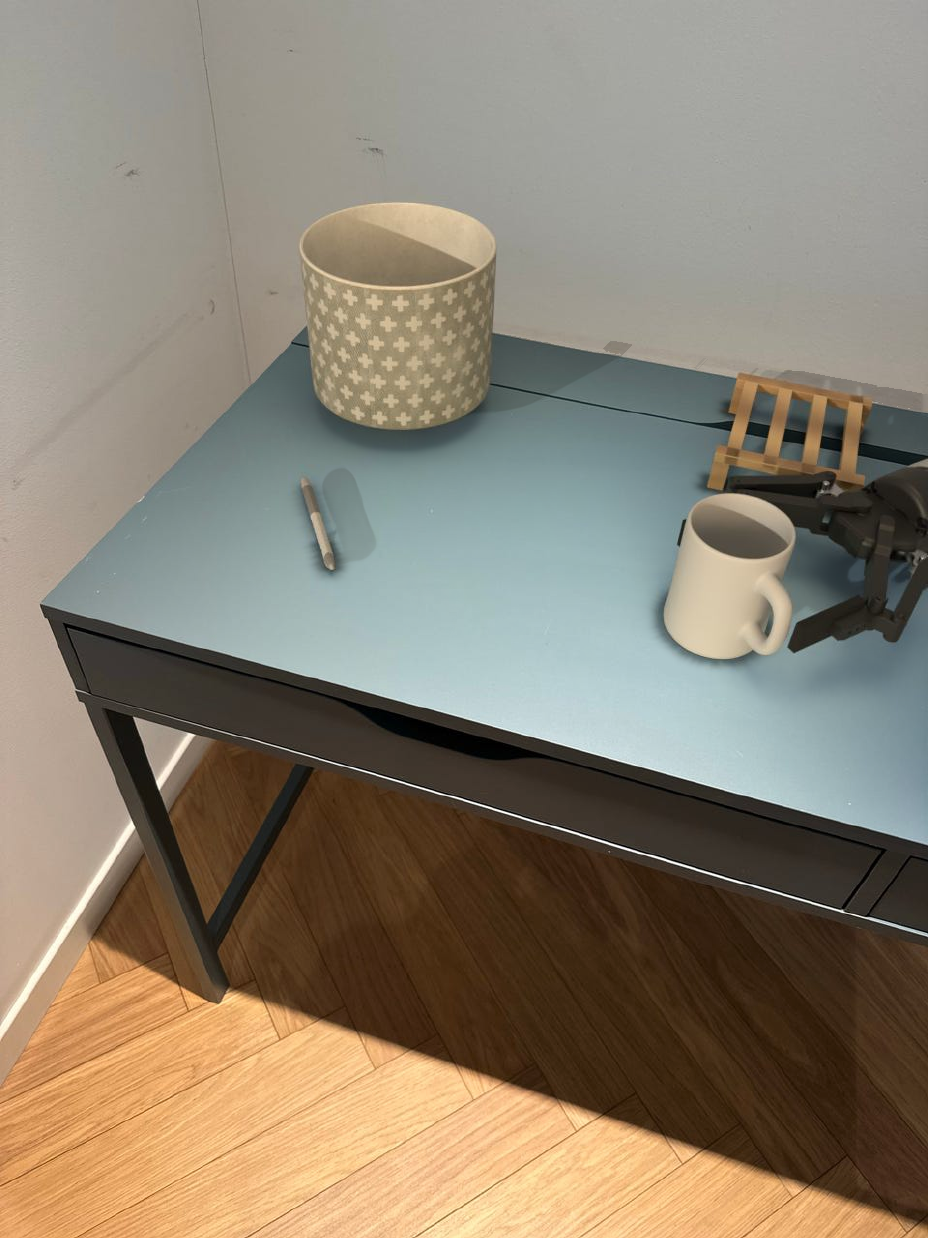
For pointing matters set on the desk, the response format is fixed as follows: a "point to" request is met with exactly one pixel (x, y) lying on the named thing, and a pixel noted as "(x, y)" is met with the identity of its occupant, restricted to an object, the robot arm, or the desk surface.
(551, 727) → the desk surface
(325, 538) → the pen
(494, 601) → the desk surface
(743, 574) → the mug
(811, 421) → the rack
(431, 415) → the planter
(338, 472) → the desk surface
